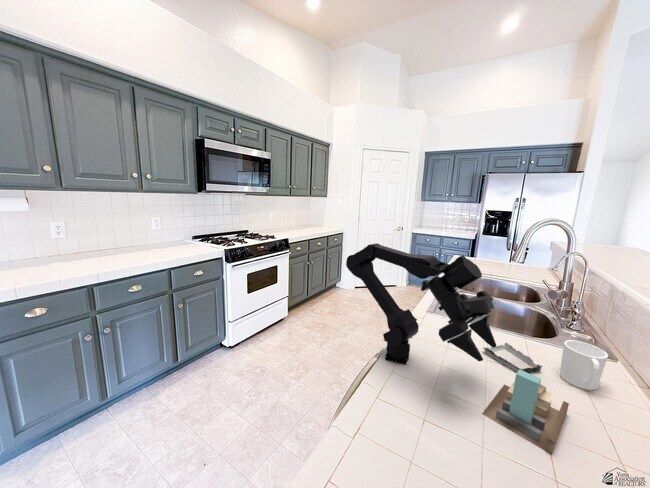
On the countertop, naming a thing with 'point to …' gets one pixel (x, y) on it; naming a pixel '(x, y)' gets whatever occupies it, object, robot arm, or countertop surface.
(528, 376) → the block
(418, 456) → the countertop surface
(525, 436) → the rack
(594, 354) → the mug
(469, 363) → the countertop surface
